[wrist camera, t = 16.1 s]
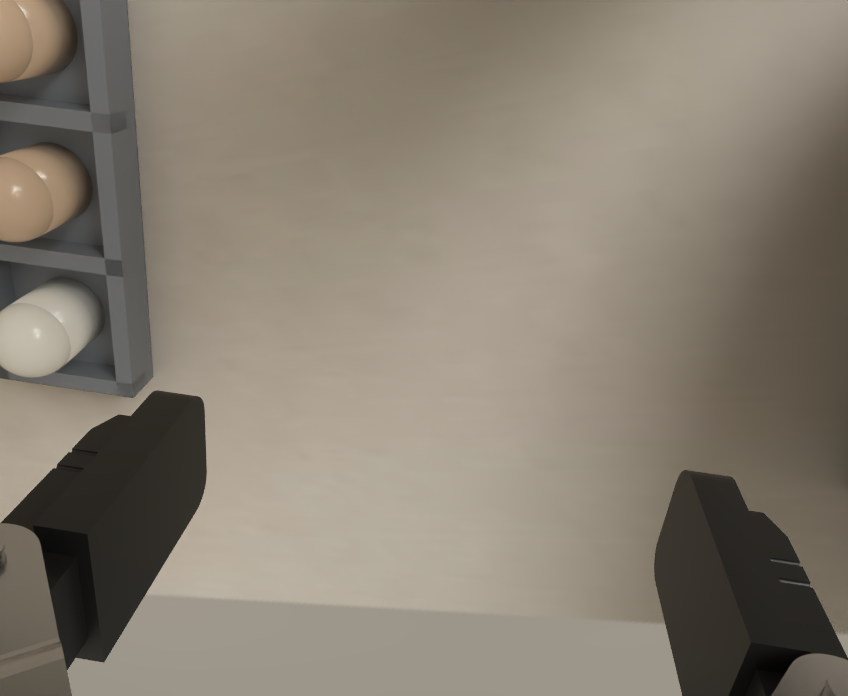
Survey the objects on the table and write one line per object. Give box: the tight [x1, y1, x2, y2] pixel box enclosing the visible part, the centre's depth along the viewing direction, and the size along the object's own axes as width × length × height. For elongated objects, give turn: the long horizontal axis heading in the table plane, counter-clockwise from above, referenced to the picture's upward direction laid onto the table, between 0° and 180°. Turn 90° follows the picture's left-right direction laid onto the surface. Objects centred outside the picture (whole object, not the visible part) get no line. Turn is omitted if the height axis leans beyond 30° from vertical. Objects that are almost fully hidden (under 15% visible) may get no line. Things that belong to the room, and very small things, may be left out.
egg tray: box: [0, 0, 153, 398], centre depth 42 cm, size 25×9×3 cm, turn 174°
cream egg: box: [0, 277, 105, 378], centre depth 43 cm, size 4×4×6 cm
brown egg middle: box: [0, 142, 93, 242], centre depth 39 cm, size 4×4×6 cm
